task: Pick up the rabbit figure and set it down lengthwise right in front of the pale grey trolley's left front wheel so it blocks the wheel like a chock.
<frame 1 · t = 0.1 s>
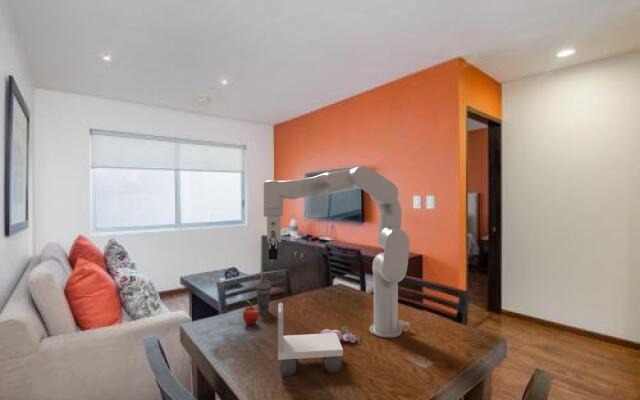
hand: (273, 256, 122), 31 cm above the table, tool pointing down, fingers open, 9 cm apart
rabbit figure: (339, 341, 119), on the table
apple: (250, 324, 135), on the table
beverage cup: (263, 312, 149), on the table
trolley: (309, 363, 103), on the table
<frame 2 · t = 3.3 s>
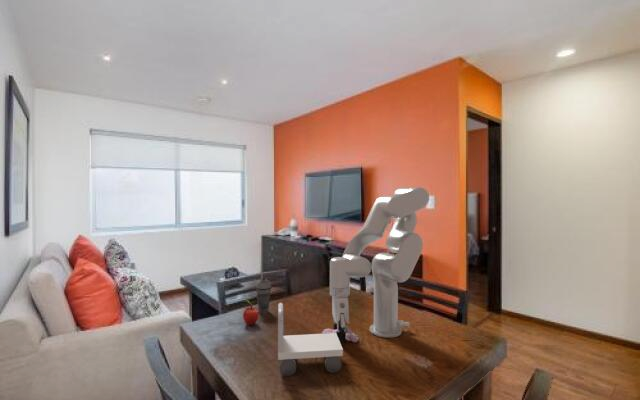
hand: (339, 337, 119), 1 cm above the table, tool pointing down, fingers closed on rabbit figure, 5 cm apart
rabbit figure: (341, 341, 120), on the table, touching gripper
everything else where it was.
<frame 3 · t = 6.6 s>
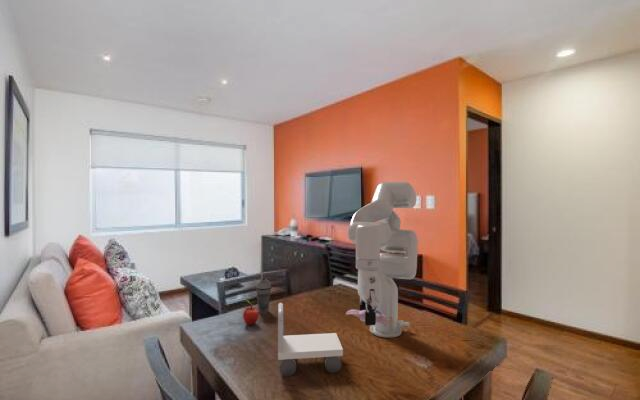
hand: (367, 320, 100), 16 cm above the table, tool pointing down, fingers closed on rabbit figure, 5 cm apart
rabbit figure: (369, 323, 100), point 14 cm above the table, touching gripper
everything else where it was.
when the fingers open (2 cm above the table, at t = 9.6 s): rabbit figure stays where it is, on the table.
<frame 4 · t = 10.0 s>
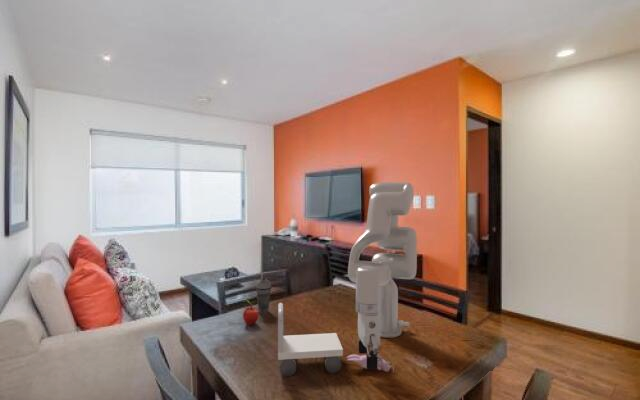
hand: (367, 360, 100), 3 cm above the table, tool pointing down, fingers open, 9 cm apart
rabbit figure: (370, 369, 100), on the table
everything else where it was.
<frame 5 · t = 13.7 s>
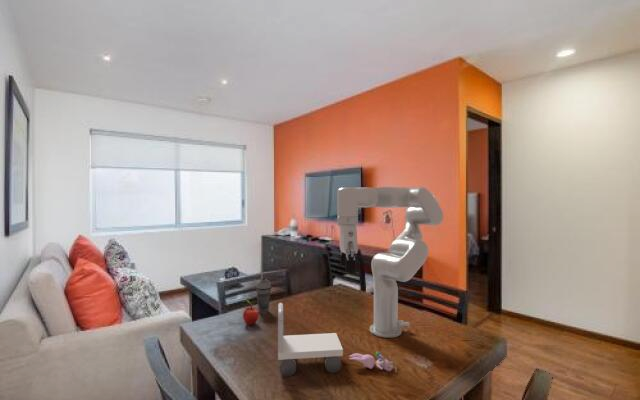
hand: (347, 268, 115), 28 cm above the table, tool pointing down, fingers open, 9 cm apart
at the end: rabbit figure 1.6 cm from the target spot on the table beside the trolley, on the table; the gripper is holding nothing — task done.
